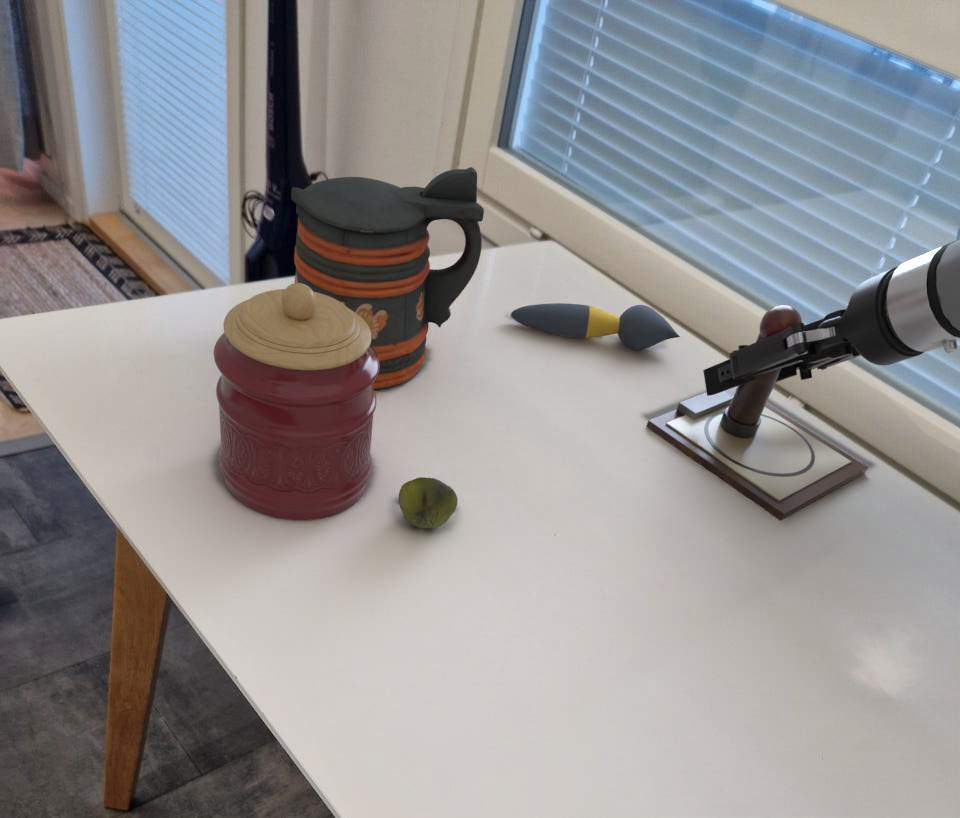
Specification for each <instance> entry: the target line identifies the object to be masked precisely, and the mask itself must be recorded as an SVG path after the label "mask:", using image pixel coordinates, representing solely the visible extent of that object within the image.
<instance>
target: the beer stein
mask: <svg viewBox="0 0 960 818" xmlns="http://www.w3.org/2000/svg"><path fill="white" fill-rule="evenodd" d="M477 193H478V172H477V171H476V169H475V168H474V167H472V166H470V167H468V168H459V169H458V168H455V169H450V170H446V171H443V172H442V173H440V174H438V175H436V176H435V177H433V178H432V179H431V180H430V181H429V182H428V183H427V185H426V186H425V187H421V186H402V187H400V186H397V185H396V184H393V183H389V182H387V181H382V180H378V179H374V178H370V177H364V176H343V177H335V178H328V179H324V180H319V181H317V182H314V183H312V184H309V185H308V186H306V187H305V188H304V189H303V188H299V187H296V186H294V187H292V188H291V190H290V196H291V197H290V199H291V201H292V202H294V203H295V204H296V206H295V213H296V215H297V216H298V217H297V231H296V239H295V246H294V254H293V261H294V265H295V274H294V283H302V284H305V285H307V286H309V287H310V288H311V289H312V290H313V292H317V293H321V294H324V295H327V296H329V297H332V298H334V299H336V300H338V301H339V302H341V303H342V304H344V305H345V306H346V307H347V308H349V309H350V310H352V311H354V312H355V313H356V314H358V315H359V316H360V317H361V318H362V319H363V320H364V321H365V322H366V323H367V325H368V326H369V329H370V331H371V344H370V345H371V346H372V347H373V348H374V350H375V351H376V353H377V355H378V358H379V362H380V369H379V374H378V376H377V378H376V380H375V381H374V383H373V384H372V387H373V389H374V390H377V389H386V388H390V387H393V386H397V385H402V384H403V383H405V382H408V381H409V380H411V379H412V378H414V377H415V376H416V375H417V374H418V373H419V372H420V370H421V368H422V366H423V364H424V362H425V360H426V357H427V356H426V355H427V354H426V353H427V352H426V351H427V350H426V349H427V348H426V344H427V335H428V332H429V324H430V323H432V324H435V325H436V326H437V327H438V328H439V329H441V327H442V325H443V324H444V323H446V322H447V321H448V320H450V317H451V314H452V313H451V309H450V307H451V306H452V305H453V304H454V302H455V301H456V300H457V299H458V298H459V296H460V295H461V294H462V293H463V291H464V290H465V289H466V287H467V286H468V284H470V282H471V279H472V278H473V276H474V274H475V272H476V270H477V269H478V265H479V262H480V258H481V254H482V248H483V247H482V245H483V244H482V243H483V241H482V239H483V238H482V232H481V226H480V223H482V222H483V221H484V214H485V213H484V212H485V209H484V207H483V206H482V205H481V204H480V203H478V195H477ZM440 220H449V221H452V222H455V223H456V224H457V225H459V227H460V228H461V230H462V232H463V234H464V239H465V240H464V241H465V242H464V248H463V252H462V254H461V256H460V257H459V259H457V261H456V262H454V263H453V264H452V265H450V266H447V267H445V268H441V269H440V268H439V269H434V268H433V269H431V263H430V260H429V259H430V256H431V250H430V246H429V245H428V244H429V241H430V238H431V237H430V236H431V235H430V233H429V230H428V226H429V225H430V224H431V223H432V222H434V221H440ZM294 283H293V284H294Z"/></svg>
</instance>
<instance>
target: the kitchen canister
mask: <svg viewBox="0 0 960 818" xmlns="http://www.w3.org/2000/svg"><path fill="white" fill-rule="evenodd" d="M370 344H371V331H370V329H369V326H368V325H367V323H366V322H365V321H364V320H363V319H362V318H361V317H360V316H359V315H358V314H356V313H355V312H354V311H352V310H350V309H349V308H347V307H346V306H345V305H344V304H342V303H341V302H339V301H338V300H336V299H334V298H332V297H329V296H327V295H324V294H321V293H317V292H313V290H312V289H311V288H310V287H309V286H307V285H305V284H302V283H291V284H289V285H288V286H287V287H286V288H280V289H279V288H278V289H272V290H267V291H263V292H260V293H257V294H256V295H253V296H252V297H250V298H248V299H246V300H244V301H242V302H241V301H240V302H239V303H238V304H236V305H235V306H233V307H232V308H231V309H230V310H229V311H228V312H227V313H226V315H225V317H224V320H223V333H222V334H221V335H220V336H219V338H218V339H217V340H216V343H215V344H214V348H213V359H214V363H215V365H216V368H217V369H218V371H219V372H220V374H221V375H220V376H219V377H218V379H217V382H216V388H215V395H216V399H217V403H218V411H219V412H218V414H219V430H220V431H219V432H220V433H219V434H220V445H219V452H218V455H219V466H220V470H221V474H222V475H223V479H224V483H225V485H226V487H227V489H228V490H229V492H230V493H231V494H232V495H233V496H234V497H235V499H236V500H238V501H239V502H241V503H242V504H244V505H245V506H246V507H249V508H250V509H252V510H254V511H257V512H260V513H262V514H265V515H269V516H272V517H276V518H281V519H289V520H290V519H291V520H311V519H319V518H320V519H321V518H325V517H328V516H333V515H335V514H338V513H341V512H343V511H345V510H347V509H349V508H350V507H351V506H352V505H354V504H355V503H356V502H358V500H359V499H360V498H361V496H362V495H363V494H364V493H365V490H366V487H367V483H368V481H369V479H370V476H371V471H372V468H371V467H372V454H371V448H372V447H371V446H372V435H373V424H374V423H373V422H374V413H375V411H376V408H377V395H376V391H375V389H373V387H372V384H373V383H374V381H375V380H376V378H377V376H378V374H379V369H380V362H379V358H378V355H377V353H376V351H375V350H374V348H373V347H372V346H371V345H370Z"/></svg>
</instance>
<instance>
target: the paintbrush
mask: <svg viewBox="0 0 960 818" xmlns="http://www.w3.org/2000/svg"><path fill="white" fill-rule="evenodd" d="M510 316H511V318H512V319H513V320H514V321H515V322H517V323H518V324H521V325H523V326H525V327H528V328H530V329H533V330H536V331H540V332H544V333H546V334H552V335H555V336H562V337H566V338H567V337H568V338H577V339H592V338H599V337H606V336H612V335H616V334H617V336H618V339H619V341H620V342H621V343H622V344H623V346H625V347H626V348H628V349H630V350H633V351H642V350H646V349H649V348H652V347H654V346H655V345H658V344H660V343H661V342H662V343H663V342H664V341H666V340H671V339H676V338H681V335H679V334H678V333H677V332H676V330H675V329H674V328H673V326H672V324H670V323H669V322H668V320H666V319H665V317H663V316H662V315H661V314H660V313H658V312H657V311H656V310H655V309H653V308H652V307H650V306H648V305H644V304H636V305H632V306H630V307H628V308H627V309H625V311H623V312H622V313H621V315H620V316H617V315H615V314H613V313H610V312H608V311H606V310H603V309H600V308H597V307H594V306H591V305H586V304H579V303H564V302H563V303H561V302H559V303H555V302H554V303H553V302H552V303H537V304H530V305H525V306H521V307H518V308H516V309H514V310H513V311H512V312H511V313H510Z"/></svg>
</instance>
